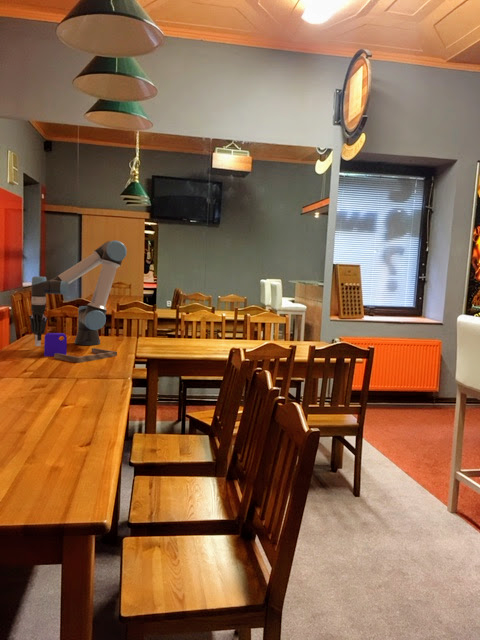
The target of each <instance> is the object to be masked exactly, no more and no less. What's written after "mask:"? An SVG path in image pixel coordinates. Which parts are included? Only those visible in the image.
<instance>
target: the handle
mask: <svg viewBox="0 0 480 640" xmlns="http://www.w3.org/2000/svg"><path fill="white" fill-rule="evenodd" d="M91 353H93V354H89V355H83V356H82V355H81V356H75V355H69V354H66V355H65V354H59V353H56V354H54V356H53V358H54V359H55V360H61V361H66V362H71V363H76V364H79V363H85V362H86V363H87V362H92V361H96V360H104V359H108V358H112V357H118V351H115V350H108V349H102V348H96V347H93V348H91Z"/></svg>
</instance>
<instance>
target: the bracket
mask: <svg viewBox="0 0 480 640" xmlns="http://www.w3.org/2000/svg"><path fill="white" fill-rule="evenodd" d="M61 337H63V338H62V339H60V338H61ZM67 339H68V336H67V335H66V334H65V333H64V332H48V333H46V334H45V335H44V346H43V349H44V351H43V352H44V353H43V356H44V357H54V354H56V353H59V354H65V355H67V348H68V347H67V346H68V345H67V343H68V340H67Z"/></svg>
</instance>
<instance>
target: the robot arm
mask: <svg viewBox="0 0 480 640" xmlns="http://www.w3.org/2000/svg"><path fill="white" fill-rule="evenodd" d="M127 250H128V249H127V246H126V245H125V244H124V243H123V242H122V241H119V240H115V239H114V240H108V241H106V242H104V243H103V244H101V245H100V246H99V247H98V248H96V249H94V250H93V251H92V254H89V255H88V256H87V257H85V258H84V259H82V260H80V261H79V262H78V263H76V264H74V265H73V266H71V267H70V268H68V269H66V270H65V271H63V272H62V273H60V274H59V275H57V276H56V277H53V278H52V279H49V280H48V279H47V277H46V276H32V278H31V308H30V309H31V310H30V311H31V312H32V313H31V315H28V318H29V321H30V330H31V333H32V334H34V346H35V347H41V346H42V345H41V344H42V335H43V334H45V332H46V326H47V322H48V319H49V318H48V317H46V314H45V312H46V308H47V305H46V304H47V295H51V294H52V295H67V294H68V293H69V288H70V287H69V285H70V284H72V283H73V282H74V281H76V280H77V279H79V278H81V277H83V276H84V275H86V274H87V273H88V272H90V271H92V270H94V269H95V268H96V267H98V266H100V265H101V270H100V271H99V275H98V278H97V281H96V285H95V288H94V291H93V295H92V298H91V301H90V302H89V303H87V305H81V306H78V310H77V312H78V313H77V314H78V316H77V333H76V335H75V338H74V344H75V345H80V346H96V345H100V344H101V339H100V336H99V331H98V330H100V329H102V328H103V327H104V326H105V325H106V320H107V317H106V314H107V311H108V309H107V307H106V306H107V303H108V300H109V296H110V293H111V290H112V286H113V283H114V280H115V276H116V272H117V270H118V268H119V267H121V265H122V263H123V260H124V259H125V258H126V257H127V254H128V253H127V252H128V251H127Z"/></svg>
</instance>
